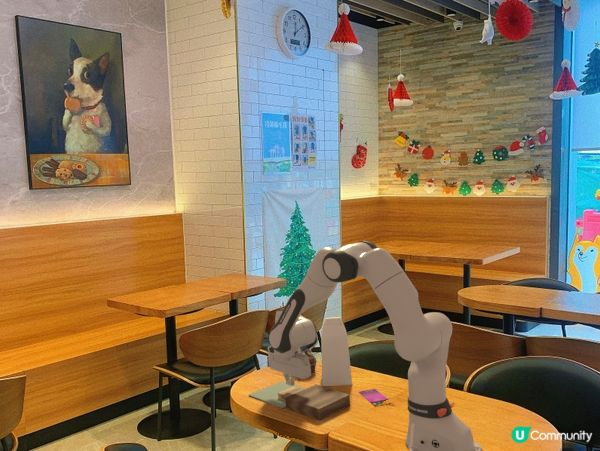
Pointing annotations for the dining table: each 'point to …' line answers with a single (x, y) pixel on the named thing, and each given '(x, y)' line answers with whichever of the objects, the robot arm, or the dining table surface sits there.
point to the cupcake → (310, 359)
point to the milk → (335, 353)
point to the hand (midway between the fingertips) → (290, 384)
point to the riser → (317, 401)
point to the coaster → (288, 392)
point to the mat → (273, 394)
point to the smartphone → (373, 397)
